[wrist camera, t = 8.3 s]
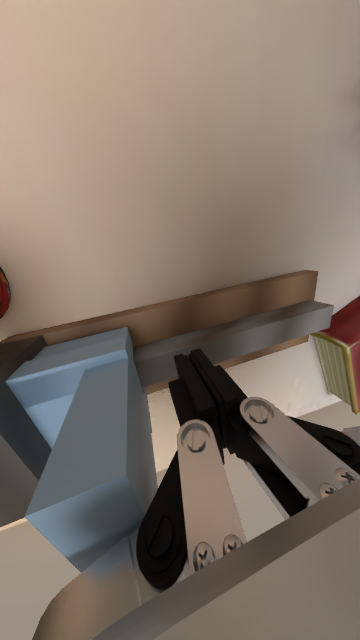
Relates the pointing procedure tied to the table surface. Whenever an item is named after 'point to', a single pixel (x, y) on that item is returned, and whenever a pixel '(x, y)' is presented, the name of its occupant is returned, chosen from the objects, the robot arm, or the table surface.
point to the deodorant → (4, 294)
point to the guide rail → (195, 315)
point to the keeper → (89, 443)
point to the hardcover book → (342, 354)
